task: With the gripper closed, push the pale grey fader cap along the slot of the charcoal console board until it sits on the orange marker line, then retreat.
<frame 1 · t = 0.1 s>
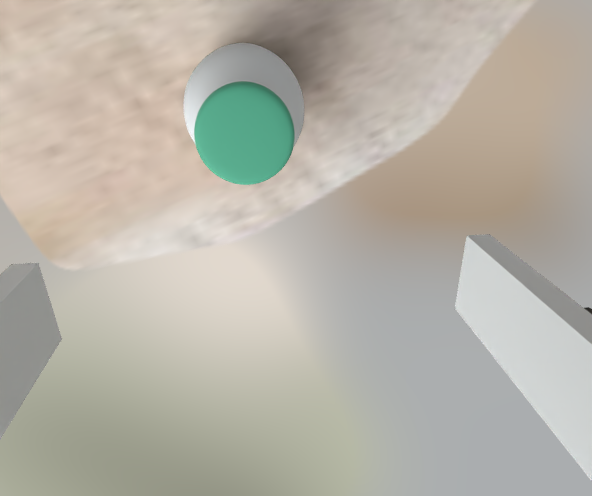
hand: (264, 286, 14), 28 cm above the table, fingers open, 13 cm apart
milk bottle: (244, 92, 38), on the table
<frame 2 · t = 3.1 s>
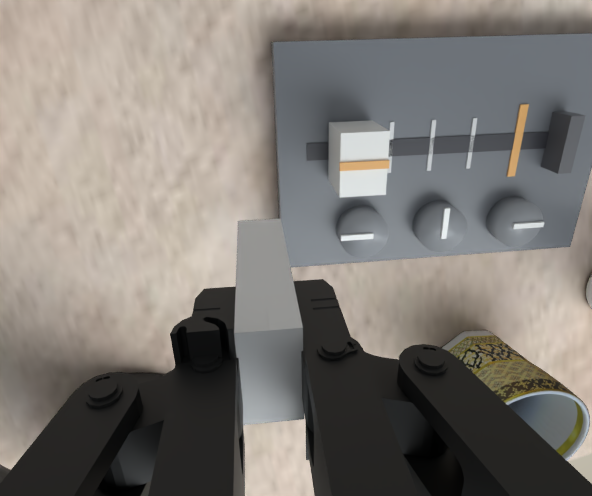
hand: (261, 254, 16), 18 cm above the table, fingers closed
console: (431, 152, 34), on the table
fader cap: (356, 157, 29), point 4 cm above the table, slide at 0.0 cm
ceramic cup: (464, 367, 44), on the table
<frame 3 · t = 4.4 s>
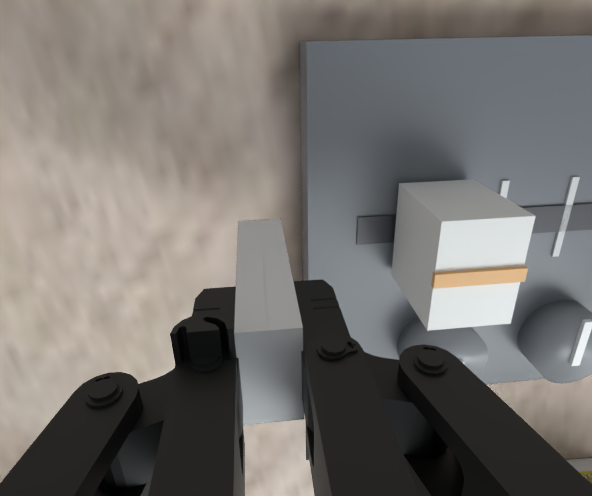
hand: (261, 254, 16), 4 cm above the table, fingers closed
console: (550, 220, 21), on the table
fader cap: (452, 250, 16), point 4 cm above the table, slide at 0.0 cm
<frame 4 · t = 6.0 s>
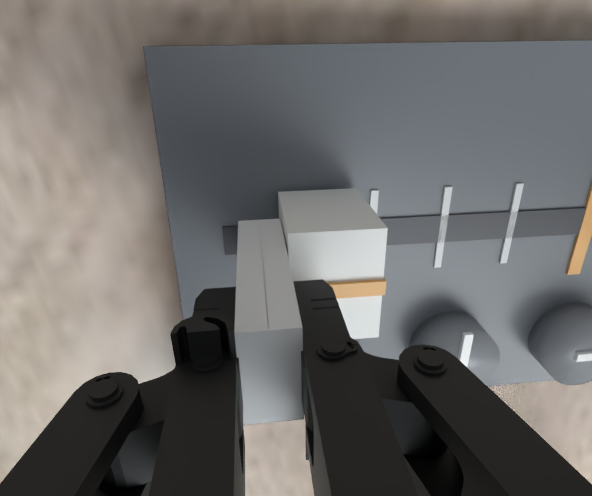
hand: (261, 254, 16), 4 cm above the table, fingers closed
console: (442, 230, 20), on the table
fader cap: (326, 261, 15), point 4 cm above the table, slide at 0.7 cm, touching gripper
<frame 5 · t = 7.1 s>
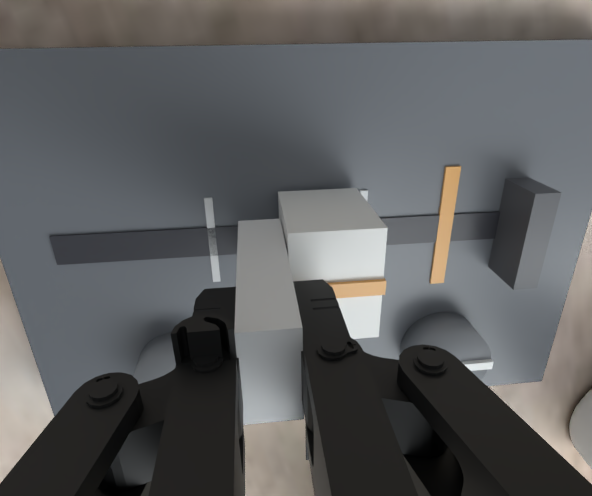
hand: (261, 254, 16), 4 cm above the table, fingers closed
console: (306, 237, 20), on the table
fader cap: (326, 261, 15), point 4 cm above the table, slide at 7.1 cm, touching gripper
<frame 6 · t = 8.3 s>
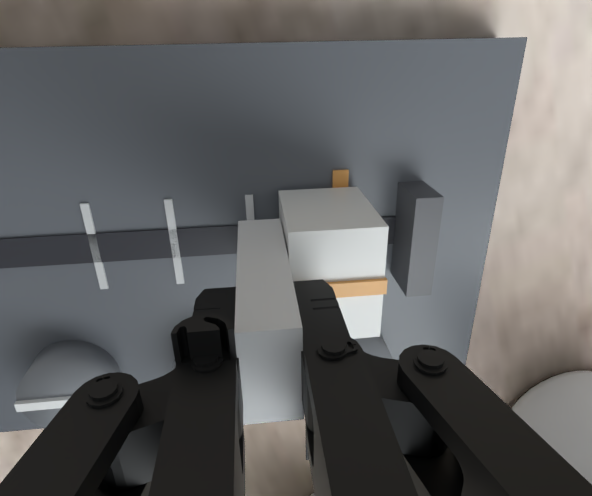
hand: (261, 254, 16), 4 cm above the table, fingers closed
console: (207, 243, 19), on the table
fader cap: (326, 260, 15), point 4 cm above the table, slide at 11.6 cm, touching gripper
milk bottle: (557, 412, 27), on the table
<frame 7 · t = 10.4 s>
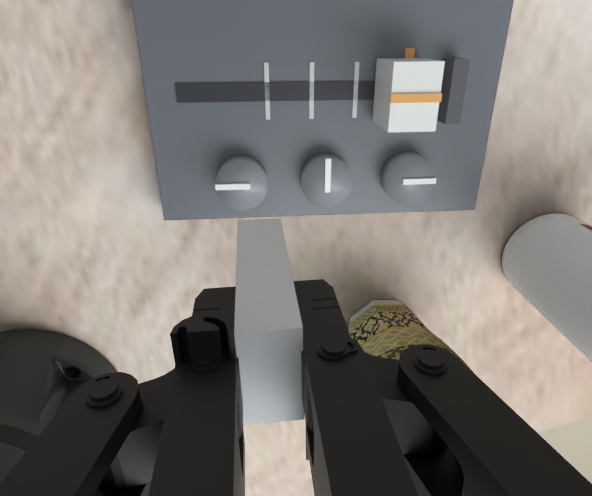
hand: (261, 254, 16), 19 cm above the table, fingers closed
console: (322, 102, 32), on the table
fader cap: (405, 94, 28), point 4 cm above the table, slide at 11.7 cm
ceramic cup: (378, 339, 42), on the table
milk bottle: (539, 250, 39), on the table
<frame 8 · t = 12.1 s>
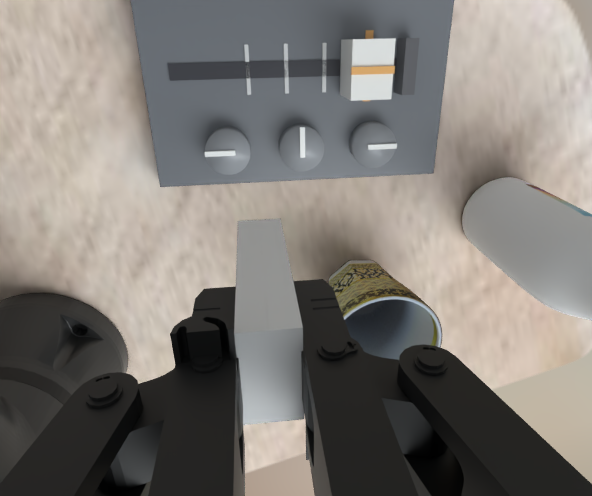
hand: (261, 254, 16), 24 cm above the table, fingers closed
console: (296, 80, 36), on the table
fader cap: (365, 68, 32), point 4 cm above the table, slide at 11.7 cm
ceramic cup: (355, 298, 47), on the table
milk bottle: (495, 211, 44), on the table
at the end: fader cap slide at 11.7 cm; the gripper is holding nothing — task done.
